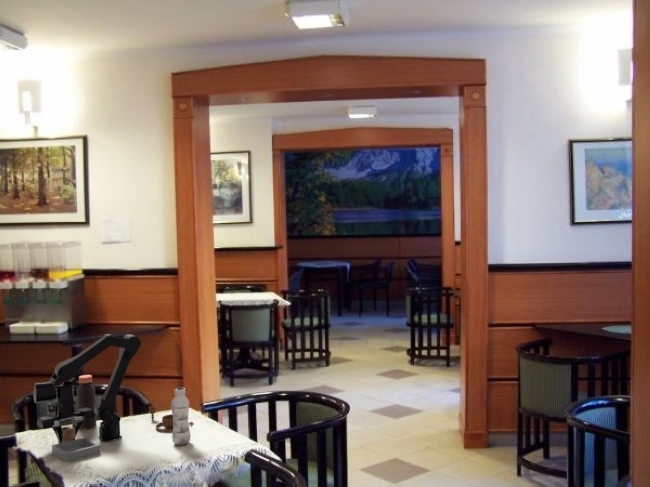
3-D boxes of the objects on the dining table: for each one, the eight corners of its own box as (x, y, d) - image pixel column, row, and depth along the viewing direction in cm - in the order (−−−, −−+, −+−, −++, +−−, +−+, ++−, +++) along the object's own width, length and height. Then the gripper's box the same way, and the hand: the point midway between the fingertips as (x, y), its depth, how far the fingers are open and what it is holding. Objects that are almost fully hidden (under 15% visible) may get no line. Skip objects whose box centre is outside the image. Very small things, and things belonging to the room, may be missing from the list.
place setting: (147, 436, 258) (147, 420, 258) (147, 420, 277) (147, 406, 277) (194, 431, 262) (194, 416, 262) (191, 416, 282) (191, 402, 281)
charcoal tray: (85, 445, 247) (85, 437, 247) (100, 453, 238) (100, 445, 238) (52, 453, 239) (51, 445, 239) (66, 462, 230) (65, 453, 230)
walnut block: (70, 441, 250) (70, 425, 249) (75, 444, 246) (75, 427, 246) (58, 444, 247) (57, 428, 246) (63, 447, 243) (62, 430, 243)
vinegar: (89, 423, 274) (87, 373, 273) (100, 425, 270) (98, 375, 269) (74, 427, 268) (72, 377, 267) (85, 430, 264) (83, 379, 264)
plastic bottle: (194, 442, 248) (192, 387, 247) (183, 448, 242) (181, 392, 241) (179, 440, 251) (178, 385, 250) (168, 445, 245) (166, 390, 244)
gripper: (81, 389, 258) (82, 430, 259) (30, 399, 245) (32, 442, 246) (94, 394, 250) (95, 437, 251) (42, 405, 237) (44, 450, 238)
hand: (67, 441), depth 246 cm, fingers closed on walnut block, 4 cm apart
